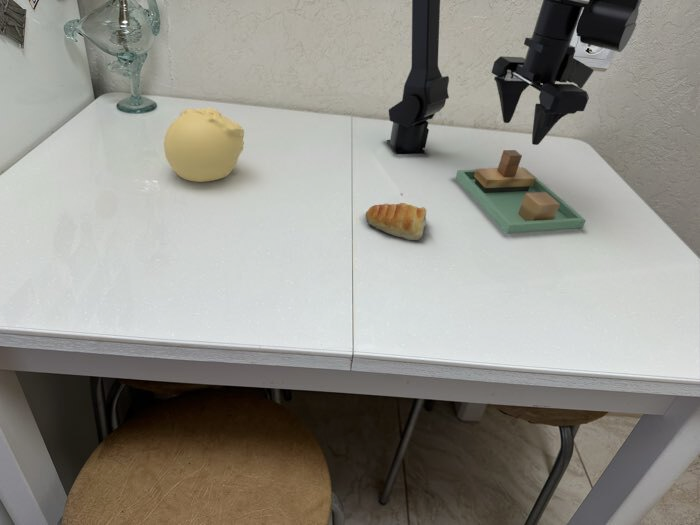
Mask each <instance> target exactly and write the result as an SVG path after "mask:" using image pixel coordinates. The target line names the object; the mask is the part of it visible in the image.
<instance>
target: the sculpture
mask: <svg viewBox="0 0 700 525" xmlns="http://www.w3.org/2000/svg"><path fill="white" fill-rule="evenodd" d="M244 137H245V130H244V128H243V126H242V125H240V124H239V123H237V122H235V121H233V120H231V119H229V118H227V116H224V115H223V114H222V113H221V112H220V111H218V109H215V108H212V107H207V108H206V107H205V108H198V109H195V108H185V109H183V110H181V112H180V115H179V116H178V117H176V118H175V119H174V120H173V121H172V122H171V123H170V125H169V127H168V128H167V130H166V132H165V135H164V140H163V151H164V155H165V158H166V161H167V162H168V165H169V166H170V167H171V170H173V171H174V173H175V174H177V175H178V177H180V178H182V179H184V180H186V181H190V182H198V183H202V182H203V183H204V182H212V181H217V180H220V179H223V178H225V177H227V176H229V175H230V174H231V173H232V171H233V170H234V168H235V166H236V164H237V162H238V159H239V157H240V155H241V154H242V152H243V151H244V145H245V141H244Z"/></svg>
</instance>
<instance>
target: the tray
mask: <svg viewBox="0 0 700 525" xmlns="http://www.w3.org/2000/svg"><path fill="white" fill-rule="evenodd" d="M525 169H526V170H527V171H528V172H529V173H530V174H532V173H531V172H530V171H529V169H527V168H525ZM475 170H476V169H459V170H457V172H456V175H455V179H456V180H457V181H458V182H459V183H460V184H461V185H462V187H463V188H464V189H465V190H467V192H468V193H469V194H470V195H471V196H472V197H473V199H475V201H476V202H477V203H478V204H479V205H480V206H481V207H482V208H483V209H484V211H485V212H486V213H487V214H488V215H489V216H490V217H491V218H492V219H493V220H494V221H495V222H496V224H497V225H498V226H499V227H500V228H501V229H502V230H503V231H504V232H505V234H518V233H519V234H520V233H531V232H532V233H533V232H544V231H558V230H571V229H582V228H583V227H584V224H585V223H586V219H585V217H583V216H582V215H581V214H579V213H578V211H576V210H574V208H573V207H571V206H570V205H569V204H568V203H567V202H565V201H564V200H563V199H562V198H560V197H559V196H558V194H556V193H555V192H554V191H552V189H550V188H549V187H548V186H547V185H545V184H544V182H542V181H541V180H539V178H537V177H536V176H535V175H534V174H532V175H533V176H534V177H535V178H536V180H535V182H534V185H533V186H530V188H529V190H528V191H519V192H497V193H484V192H483V191H482V190H481V189H480V188H479V187H478V186H477V185H476V184H475V180H476V178H475V177H474V174H475ZM537 192H546V193H548V194H549V195H550V196H551V197H552V198H553V199H555V200H556V201H557V202H558V203H559V204H560V206H559V208H558V210H557V213H556V215H555V217H554V220H539V221H525V220H524V219H523V218H522V217H521V216H520V215H519V214H518V212H519V210H520V207H521V204H522V202H523V199H524V196H525V193H537Z"/></svg>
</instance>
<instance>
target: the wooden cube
mask: <svg viewBox="0 0 700 525" xmlns="http://www.w3.org/2000/svg"><path fill="white" fill-rule="evenodd" d="M559 206H560V204H559V203H558V202H557V201H556V200H555V199H553V198H552V197H551V196H550V195H549V194H548V193H546V192H537V193H525V196H524V199H523V202H522V204H521V207H520V210H519V212H518V214H519V215H520V216H521V217H522V218H523V219H524V220H525V221H539V220H554V217H555V215H556V213H557V210H558V208H559Z"/></svg>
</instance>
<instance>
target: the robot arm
mask: <svg viewBox="0 0 700 525" xmlns="http://www.w3.org/2000/svg"><path fill="white" fill-rule="evenodd" d="M642 1H643V0H542V3H541V6H540V10H539V13H538V16H537V20H536V23H535V24H534V25H535V26H534V29H533V32H532V36H531V37H525V39H524V42H523V45H525V46H526V47H528V49H527V52H526V54H525V57H523V56H503V55H500V56H499V57H498V58H497V59H496V60H495V61H493V65H492V69H491V74H493V75H494V78H493V80H494V81H495V83H496V88H497V93H498V97H499V103H500V110H501V115H502V121H503V123H504V124H510V122H511V120H512V118H513V117H514V114H515V112H516V109H517V107H518V104H519V101H520V99H521V96H522V94H523V92H524V91H525V90H526V89H527V88H528V87H530V86H531V87H532V88H534V89H535V90H537V91H539V96H538V99H539V103H535V106H534V114H533V115H534V116H533V123H532V125H533V126H532V132H531V133H532V134H531V144H532V145H533V146H538V145H540V144H541V142H542V141H543V140H544V139H545V137H546V136H547V135H548V134H549V133H550V131H551V130H552V129H553V127H554V126H555V125H556V124H557V123H558V122H559V121H560V120H561V119H562V118H563V117H565V116H567V115H573V114H576V113H577V112H584V111H585V110H586V107H587V104H588V102H589V99H590V96H589V94H588V92H587V91H586V90H584V89H583V87H584V86H585V85H586V83H587V82H588V80H589V79H590V78H591V76H592V75H593V73H594V71H595V69H593V68H591V67H590V66H588V65H587V64H585V63H583V62H581V61H580V60H578V59H576V58H574V57H575V54H576V46H574V45H571V42H572V41H573V40H572V39H573V36H574V34H575V32H576V36H577V37H579V41H580V43H582V44H585V45H590V46H592V47H598V48H602V49H605V50H609V51H613V52H617V53H621V52H623V50H624V49H625V48H626V47H627V45H628V43H629V41H630V40H631V39H632V36H633V33H634V32H635V30H636V27H637V19H638V17H639V10H640V9H639V7H640V6H641V3H642ZM440 15H441V0H411V67H410V70H409V73H408V76H407V77H406V79H405V82H404V84H403V91H402V99H401V101H399V102H398V103H396V104H395V105H393V106H392V107H390V108H389V109H388V117H389V118H388V119H389V121H390V122H392V127H391V132H390V138H389V139H386V144H387V145H388V147H389V149H391V151H392V152H393V153H394V155H426V154H427V152H426V151H425V148H426V146H427V142H428V136H429V131H430V129H429V120H432V119H433V118H434V117H435V115H436V114H437V113H440V111H441V110H442V109H443V108H445V105H446V103H447V102H446V101H447V99H449V98H450V96H449V90H448V89H449V82H450V78H449V75H446V76H443V75H442V73H441V71H440V68H439V45H440V17H441V16H440ZM556 82H558V83H556ZM567 82H568V83H567Z"/></svg>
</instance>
